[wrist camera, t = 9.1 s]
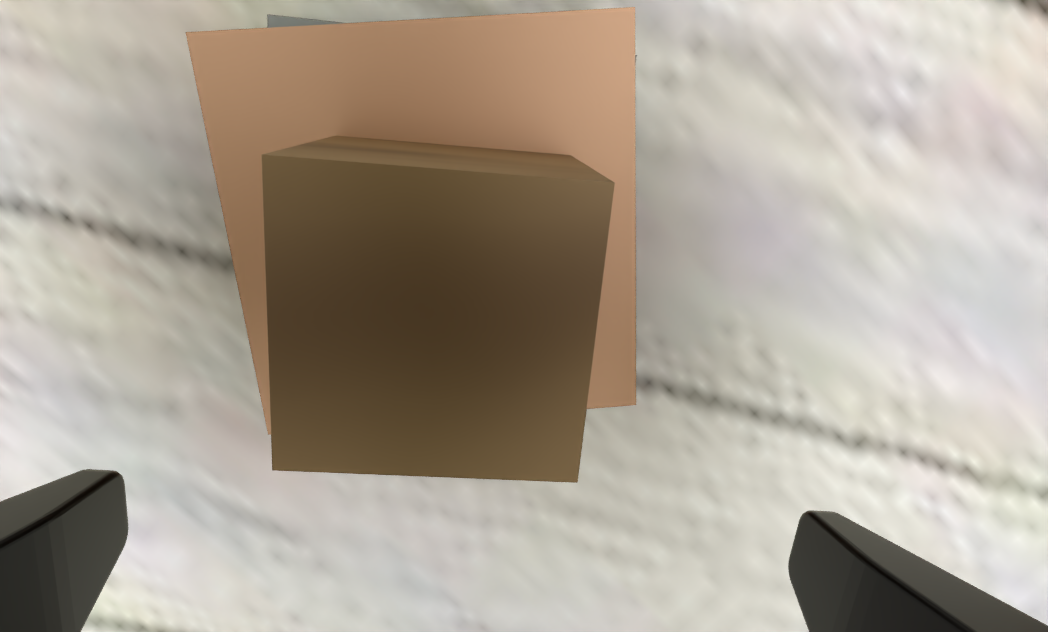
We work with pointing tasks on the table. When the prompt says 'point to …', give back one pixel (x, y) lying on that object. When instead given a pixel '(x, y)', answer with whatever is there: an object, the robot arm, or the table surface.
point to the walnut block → (431, 307)
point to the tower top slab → (430, 126)
